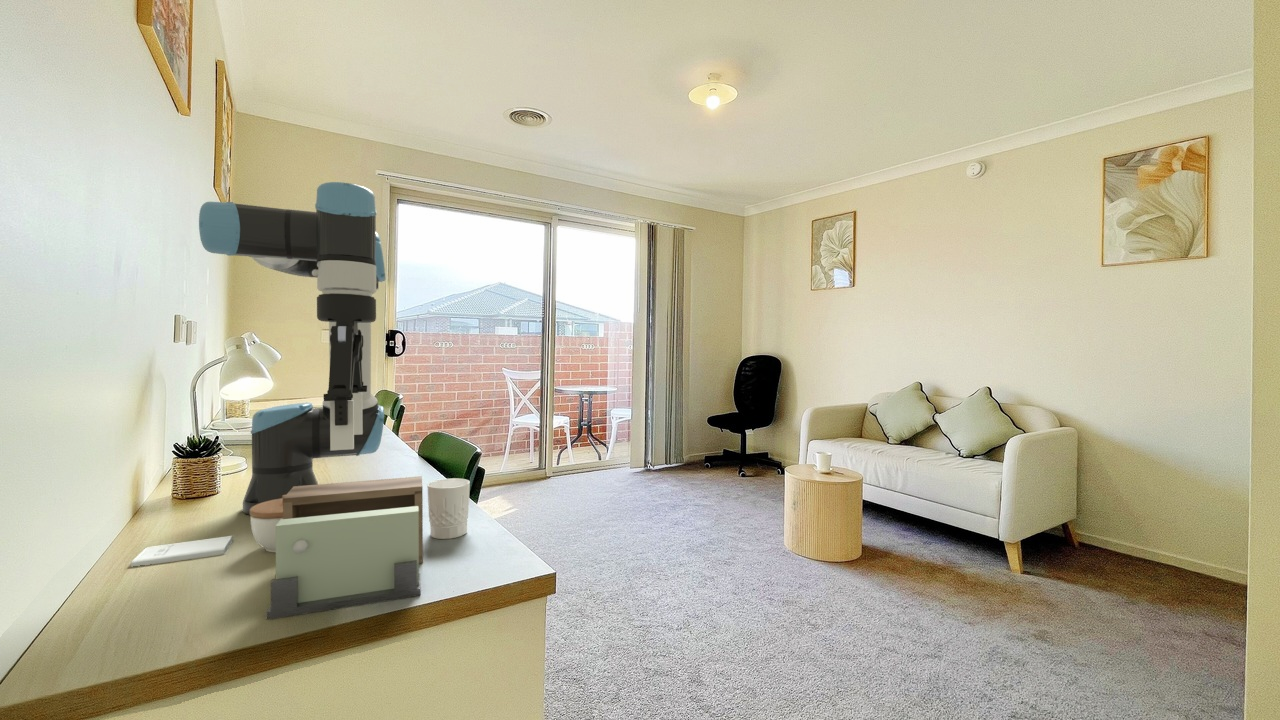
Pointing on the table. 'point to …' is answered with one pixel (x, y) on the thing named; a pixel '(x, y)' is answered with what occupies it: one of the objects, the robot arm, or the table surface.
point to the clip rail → (287, 596)
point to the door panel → (346, 551)
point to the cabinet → (356, 499)
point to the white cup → (448, 507)
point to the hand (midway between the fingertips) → (347, 441)
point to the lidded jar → (266, 522)
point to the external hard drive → (183, 551)
